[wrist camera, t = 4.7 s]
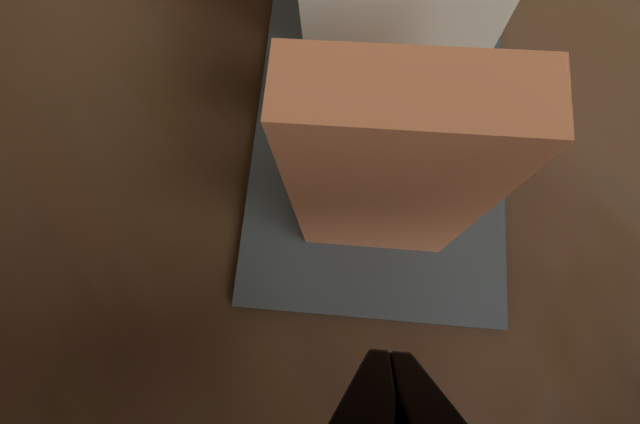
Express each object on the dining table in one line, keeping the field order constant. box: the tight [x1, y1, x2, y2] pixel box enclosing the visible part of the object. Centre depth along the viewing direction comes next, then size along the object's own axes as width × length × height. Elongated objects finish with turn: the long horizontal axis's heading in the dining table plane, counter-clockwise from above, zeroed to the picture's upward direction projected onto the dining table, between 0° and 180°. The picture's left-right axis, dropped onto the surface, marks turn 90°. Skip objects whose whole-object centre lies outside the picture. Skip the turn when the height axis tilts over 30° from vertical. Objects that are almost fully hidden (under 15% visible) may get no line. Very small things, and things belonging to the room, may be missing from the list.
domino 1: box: [298, 0, 519, 48], centre depth 13 cm, size 2×5×10 cm, turn 85°
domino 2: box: [261, 38, 575, 252], centre depth 12 cm, size 2×5×10 cm, turn 85°
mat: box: [232, 0, 508, 330], centre depth 19 cm, size 23×10×1 cm, turn 175°
